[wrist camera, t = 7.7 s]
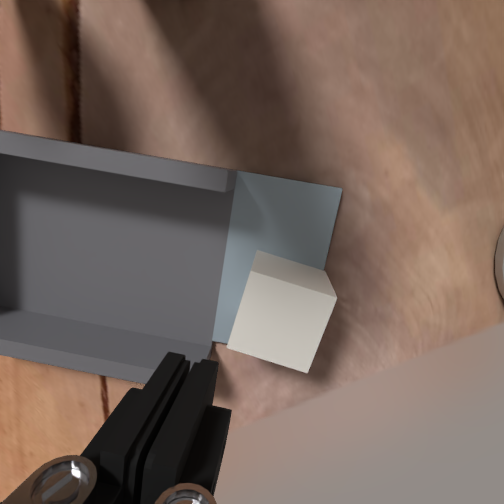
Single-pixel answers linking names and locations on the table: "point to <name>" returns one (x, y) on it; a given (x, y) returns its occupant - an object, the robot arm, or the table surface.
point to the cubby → (137, 251)
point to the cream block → (283, 312)
